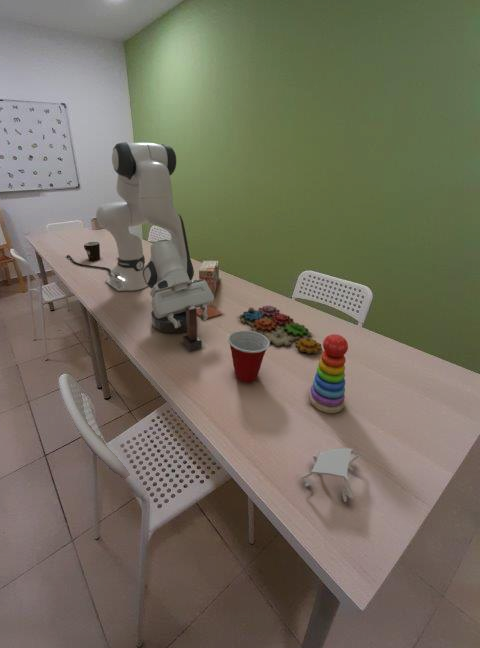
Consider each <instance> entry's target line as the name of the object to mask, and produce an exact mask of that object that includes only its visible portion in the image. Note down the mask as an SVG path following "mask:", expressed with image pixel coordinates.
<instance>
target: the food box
mask: <svg viewBox="0 0 480 648" xmlns="http://www.w3.org/2000/svg"><path fill="white" fill-rule="evenodd" d="M219 262H220V261H219V260H203V261H202V264H201V265H200V268H199V269H198V279H200V278H201V279H203V280H205V281H206V282H207V284H208V287H209V288H210V290H211V292H212V294H213V296H214V297H215V293H216V290H217V286H218V283H219V280H220V279H219V278H220V267H219V264H220V263H219Z"/></svg>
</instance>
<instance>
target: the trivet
mask: <svg viewBox="0 0 480 648" xmlns="http://www.w3.org/2000/svg"><path fill="white" fill-rule="evenodd" d="M196 313H197V316H198V317H199V318H201V316H200V315H201V314H202V313H203V310H201V308H200V307H198V308H196ZM206 314H207V316H208V318H207V319H206V320H209V319H212V318H215V317H220V316H222V313H221V311H219V310H218V309H216V308H215V307H213V305H211V304H209V305H207V312H206Z"/></svg>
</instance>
